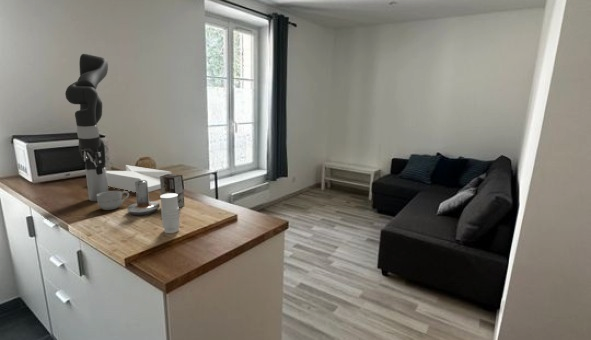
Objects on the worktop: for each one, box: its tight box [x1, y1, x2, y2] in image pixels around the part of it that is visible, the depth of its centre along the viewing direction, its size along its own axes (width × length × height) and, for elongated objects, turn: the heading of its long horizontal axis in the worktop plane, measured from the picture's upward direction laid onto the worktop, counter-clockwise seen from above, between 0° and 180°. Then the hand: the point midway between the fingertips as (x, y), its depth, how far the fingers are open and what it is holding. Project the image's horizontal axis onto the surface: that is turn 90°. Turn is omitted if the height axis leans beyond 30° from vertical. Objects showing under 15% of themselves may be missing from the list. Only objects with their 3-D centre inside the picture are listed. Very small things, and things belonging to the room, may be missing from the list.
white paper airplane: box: [106, 164, 173, 193], centre depth 199 cm, size 45×22×10 cm, turn 63°
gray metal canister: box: [135, 180, 150, 207], centre depth 149 cm, size 5×5×12 cm
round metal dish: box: [126, 200, 161, 217], centre depth 150 cm, size 14×14×3 cm
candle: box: [159, 193, 181, 234], centre depth 128 cm, size 7×7×15 cm
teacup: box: [96, 190, 130, 211], centre depth 155 cm, size 14×11×8 cm
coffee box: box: [160, 173, 185, 208], centre depth 158 cm, size 9×6×16 cm
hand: (94, 171), depth 136 cm, fingers open, 8 cm apart
